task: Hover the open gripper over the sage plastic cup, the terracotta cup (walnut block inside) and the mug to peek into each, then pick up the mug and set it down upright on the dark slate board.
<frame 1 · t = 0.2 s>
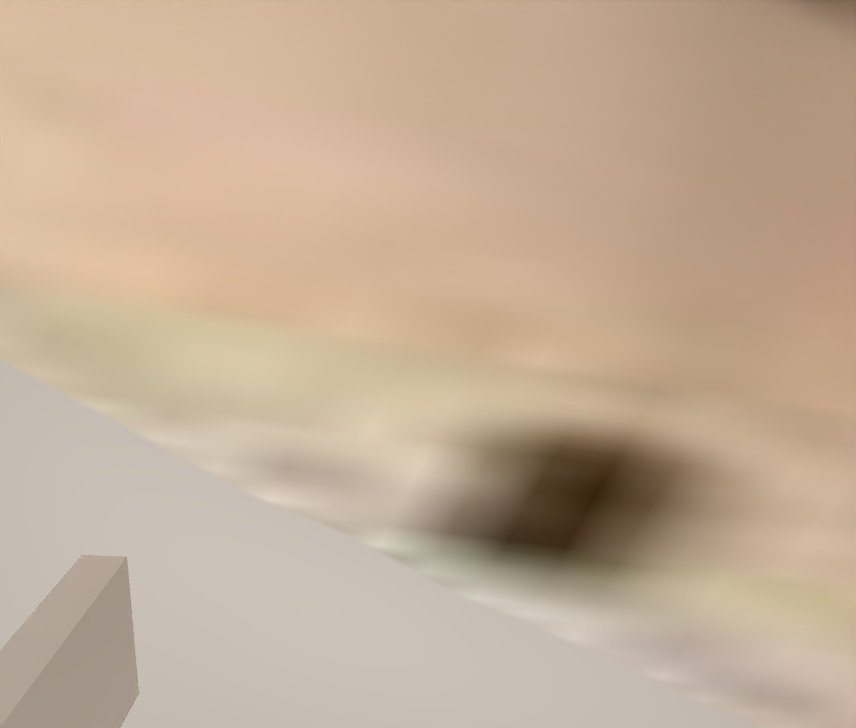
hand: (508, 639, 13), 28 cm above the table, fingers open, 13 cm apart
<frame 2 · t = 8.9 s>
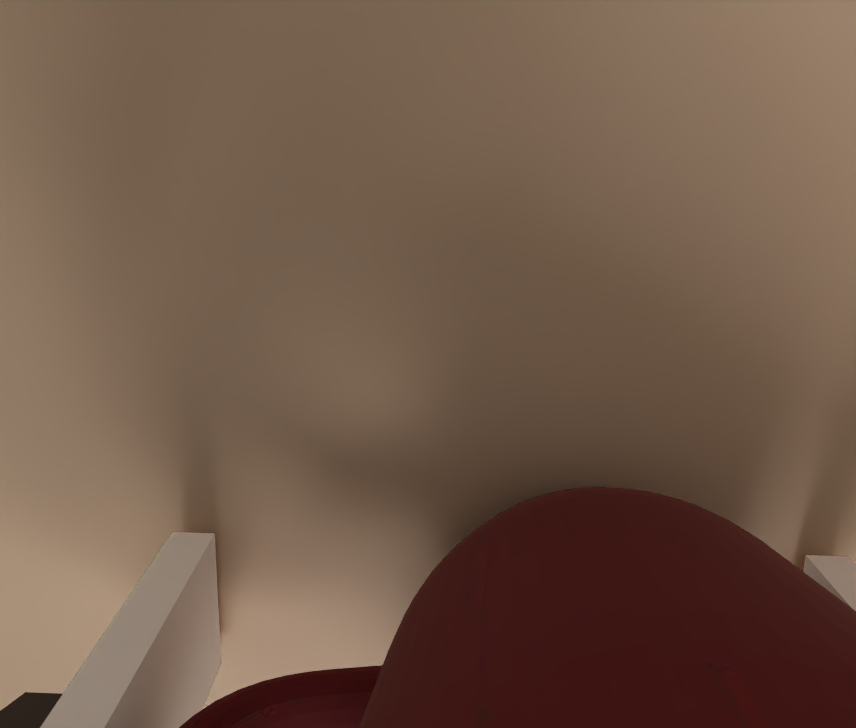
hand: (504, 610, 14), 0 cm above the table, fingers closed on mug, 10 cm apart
mug: (506, 592, 15), on the table, touching gripper
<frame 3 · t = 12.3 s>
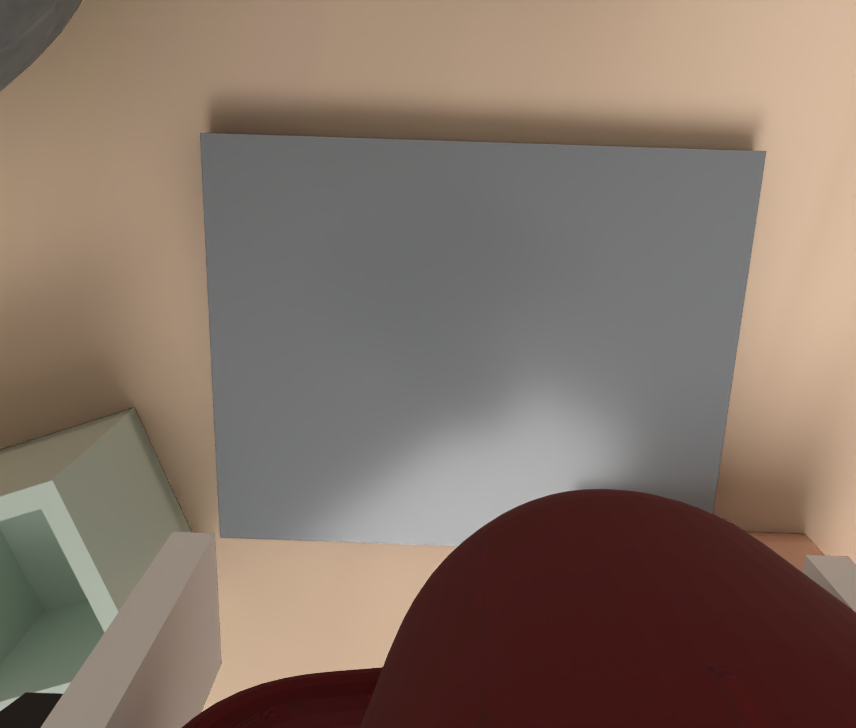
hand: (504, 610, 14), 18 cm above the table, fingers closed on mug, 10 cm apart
slate board: (470, 351, 31), on the table
sage cup: (87, 518, 33), on the table
mug: (507, 594, 15), point 17 cm above the table, touching gripper
terracotta cup: (685, 622, 34), on the table
when the fingers open (3 cm above the table, at t = 15.9 s): mug drops 1 cm, resting on slate board.
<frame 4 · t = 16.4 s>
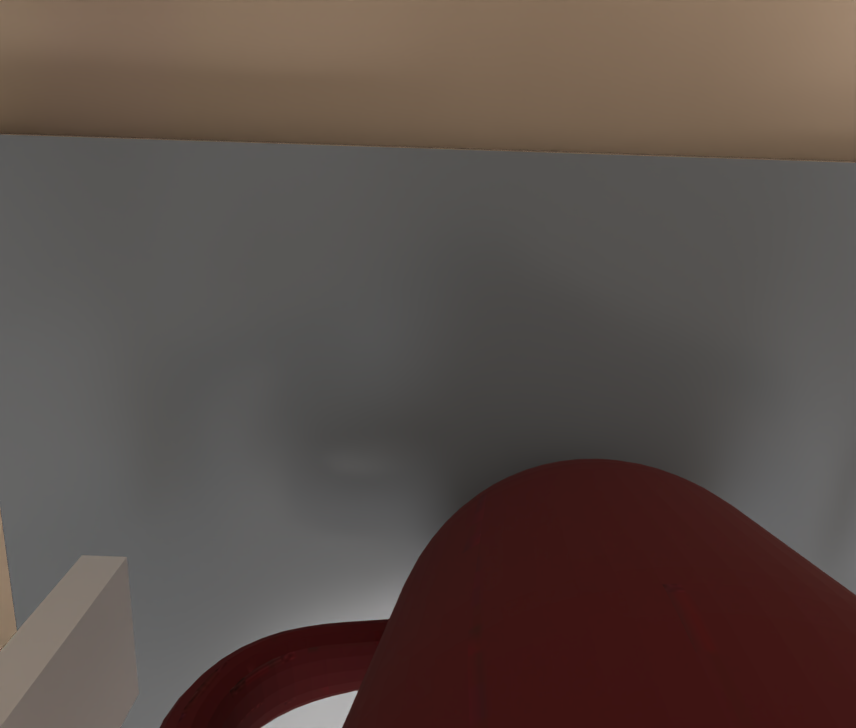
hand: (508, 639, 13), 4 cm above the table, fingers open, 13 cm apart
slate board: (494, 533, 17), on the table
mug: (505, 560, 16), point 1 cm above the table, touching slate board
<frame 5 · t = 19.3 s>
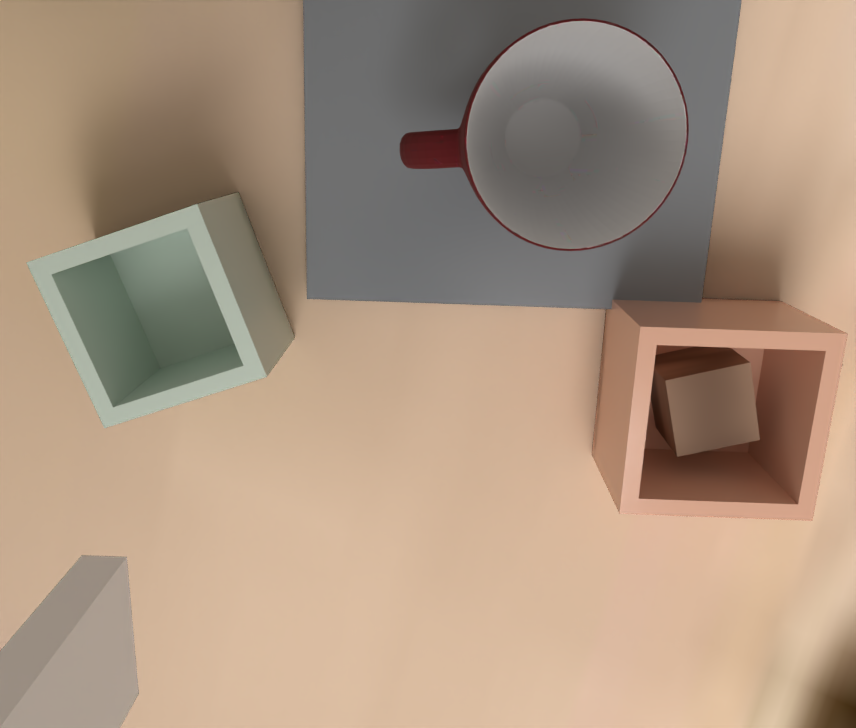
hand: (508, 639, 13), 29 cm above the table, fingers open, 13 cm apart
slate board: (510, 142, 39), on the table
sage cup: (196, 290, 41), on the table
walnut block: (687, 384, 41), point 1 cm above the table, touching terracotta cup
mug: (515, 143, 38), point 1 cm above the table, touching slate board
terracotta cup: (683, 380, 42), on the table
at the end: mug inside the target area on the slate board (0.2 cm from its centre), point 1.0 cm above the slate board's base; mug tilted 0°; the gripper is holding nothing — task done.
